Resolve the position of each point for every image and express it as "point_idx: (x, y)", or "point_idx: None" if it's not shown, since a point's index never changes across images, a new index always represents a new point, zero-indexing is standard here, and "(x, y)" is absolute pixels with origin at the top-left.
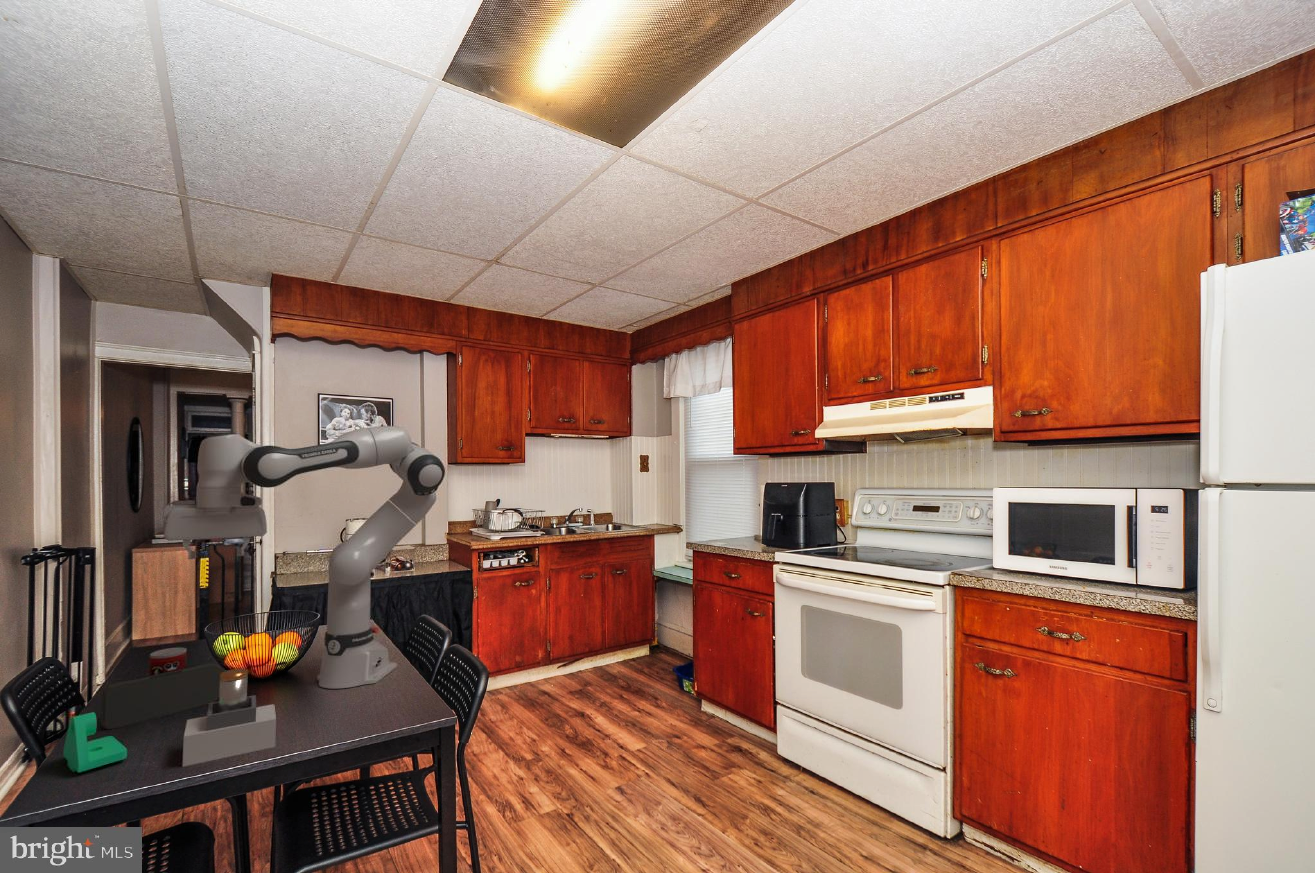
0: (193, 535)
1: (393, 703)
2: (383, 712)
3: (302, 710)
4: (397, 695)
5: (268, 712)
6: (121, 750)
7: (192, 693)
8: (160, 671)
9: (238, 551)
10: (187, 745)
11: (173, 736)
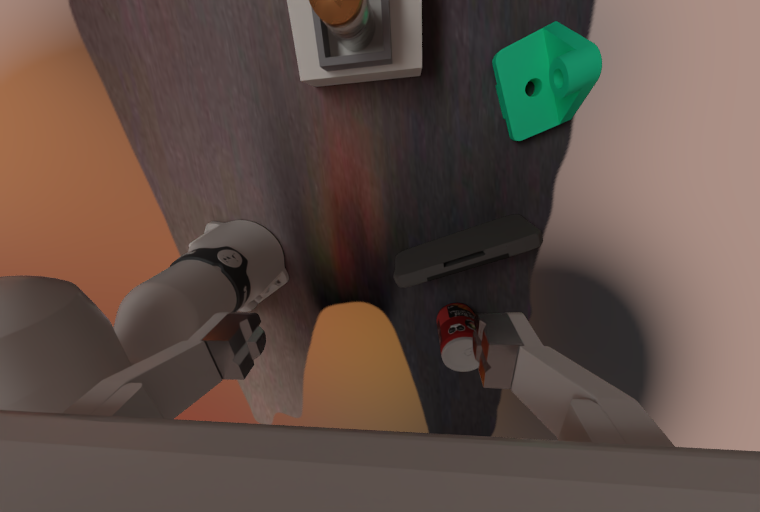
0: (616, 499)
1: (166, 118)
2: (172, 82)
3: (288, 158)
4: (169, 152)
5: (302, 32)
6: (502, 57)
7: (425, 251)
8: (468, 324)
9: (229, 326)
10: None
11: (438, 140)
